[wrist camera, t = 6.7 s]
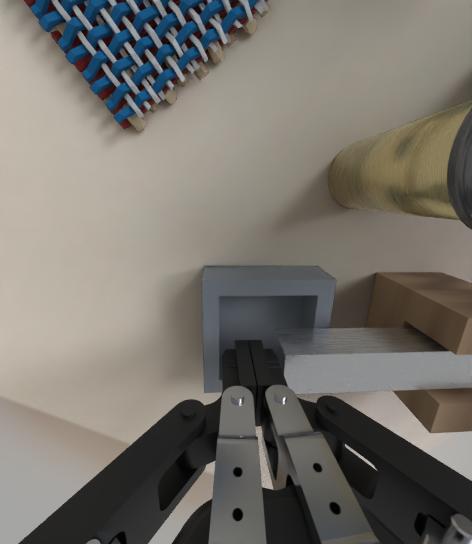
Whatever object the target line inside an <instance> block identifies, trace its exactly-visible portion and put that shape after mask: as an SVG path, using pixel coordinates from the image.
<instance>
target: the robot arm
mask: <svg viewBox="0 0 472 544" xmlns="http://www.w3.org/2000/svg"><path fill="white" fill-rule="evenodd" d="M255 426H261V427H262V432H263V433H262V445H263V449H264V453H265V457H266V461H267V465H268V469H269V472H270V476H271V480H272V484H273V489H274V490H271V489H267V488H263V487H262V482H261V469H260V457H259V444H258V437H256V428H255ZM345 444H347V445H348V446H349V447H351V448H352V449H353V450H355V451H356V452H357V453H359V454H360V455H361V456H363V457H364V458H365V459H367V460H368V461H369V462H371V463H372V464H373V465H374V466H375V468H376V469H377V470H375V469H374V468H373V467H371V466H370V465H369V464H367V463H366V462H365V461H363V460H362V459H361V458H359V457H358V456H357V455H355V454H354V453H353V452H351V451H350V450H349V449H347V448H346V447H345ZM213 461H216V462H215V473H214V485H213V498H212V499H211V500H209V501H207V502H206V503H204V504H203V505H202V506H200V507H199V508H198V509H197V510H196V511H195V512H194V513H193V514H192V515H191V516H190V518H189V519H188V520H187V522H186V523H185V524H184V526H183V527H182V529H181V531H180V532H179V534H178V535H177V537H176V538H175V540H174V541H173V543H172V544H472V481H471V480H469V479H467V478H466V477H464V476H462V475H461V474H459V473H458V472H456V471H455V470H453V469H451V468H450V467H448V466H446V465H445V464H443V463H442V462H440V461H438V460H437V459H435V458H434V457H432V456H430V455H429V454H427V453H426V452H424V451H422V450H421V449H419V448H418V447H416V446H414V445H413V444H411V443H410V442H408V441H406V440H405V439H403V438H402V437H400V436H398V435H397V434H395V433H393V432H392V431H390V430H389V429H387V428H385V427H384V426H382V425H381V424H379V423H377V422H376V421H374V420H373V419H371V418H369V417H368V416H366V415H365V414H363V413H361V412H360V411H358V410H357V409H355V408H353V407H352V406H350V405H349V404H347V403H345V402H344V401H342V400H340V399H339V398H336V397H333V396H322V397H320V398H318V400H317V402H316V403H314V402H309V401H305V400H302V399H300V398H298V397H297V396H296V394H295V393H294V391H293V390H292V389H290V388H289V387H288V385H287V382H286V379H285V377H284V374H283V371H282V368H281V366H280V363H279V360H278V357H277V354H276V353H275V352H274V351H273V350H272V349H264V348H263V344H262V341H261V340H235V344H234V349H229V350H225V352H224V353H223V355H222V395H221V397H220V398H219V399H218V400H217V401H215V402H213V403H211V404H208V405H205V406H204V405H203V404H202V403H201V402H200V401H197V400H191V399H190V400H185V401H182V402H180V403H179V404H177V405H176V406H175V407H174V408H173V409H172V410H170V411H169V412H168V413H167V414H166V415H165V416H164V417H162V418H161V419H160V420H159V421H158V422H157V423H156V424H155V425H153V426H152V427H151V428H150V429H149V430H148V431H147V432H145V433H144V434H143V435H142V436H141V437H140V438H139V439H137V440H136V441H135V442H134V443H133V444H132V445H131V446H129V447H128V448H127V449H126V450H125V451H124V452H123V453H121V454H120V455H119V456H118V457H117V458H116V459H115V460H113V461H112V462H111V463H110V464H109V465H108V466H107V467H105V468H104V469H103V470H102V471H101V472H100V473H99V474H97V475H96V476H95V477H94V478H93V479H92V480H91V481H89V482H88V483H87V484H86V485H85V486H84V487H83V488H81V489H80V490H79V491H78V492H77V493H76V494H75V495H73V496H72V497H71V498H70V499H69V500H68V501H67V502H65V503H64V504H63V505H62V506H61V507H60V508H59V509H58V510H56V511H55V512H54V513H53V514H52V515H51V516H49V517H48V518H47V519H46V520H45V521H44V522H43V523H42V524H40V525H39V526H38V527H37V528H36V529H35V530H34V531H32V532H31V533H30V534H29V535H28V536H27V537H25V538H24V539H23V540H22V541H21V542H20V543H19V544H148V543H149V541H150V540H151V539H152V537H153V536H154V535H155V533H156V532H157V531H158V529H159V528H160V527H161V526H162V524H163V523H164V521H165V520H166V519H167V518H168V517H169V515H170V514H171V513H172V511H173V510H174V509H175V507H176V506H177V505H178V504H179V502H180V501H181V500H182V498H183V497H184V496H185V494H186V493H187V492H188V491H189V489H190V488H191V487H192V485H193V484H194V483H195V481H196V480H197V479H198V477H199V476H200V475H201V474H202V472H203V471H204V469H205V467H206V464H209V463H211V462H213Z"/></svg>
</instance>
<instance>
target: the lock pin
mask: <svg viewBox="0 0 472 544" xmlns="http://www.w3.org/2000/svg"><path fill="white" fill-rule="evenodd" d="M273 351H274V352H275V353H276V354H277V357H278V360H279V363H280V366H281V368H282V371H283V374H284V377H285V379H286V382H287V385H288V387H289V388H290V389H292V390H293V391H294V393H295V394H315V393H343V392H371V391H398V390H426V389H454V388H472V355H455V354H454V353H453V352H451V351H450V350H448V349H447V348H445V347H444V346H442V345H441V344H439V343H438V342H436V341H435V340H433V339H432V338H430V337H429V336H427V335H426V334H424V333H423V332H421V331H420V330H418V329H417V328H416V327H376V328H318V329H275V332H274V345H273Z"/></svg>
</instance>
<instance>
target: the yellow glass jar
mask: <svg viewBox="0 0 472 544" xmlns="http://www.w3.org/2000/svg"><path fill="white" fill-rule="evenodd" d="M328 185H329V190H330V193H331V195H332V196H333V198H334V199H335V200H336V202H338V203H339V204H340V205H342V206H344V207H347V208H352V209H362V210H371V211H380V212H390V213H399V214H408V215H418V216H427V217H436V218H446V219H455V220H461V221H462V222H463V223H464V224H465V225H466V226H467V227H469V228H470V229H472V100H470V101H468V102H465V103H462V104H460V105H457V106H454V107H451V108H449V109H446V110H443V111H441V112H438V113H435V114H433V115H430V116H427V117H425V118H422V119H419V120H417V121H414V122H411V123H408V124H406V125H403V126H400V127H398V128H395V129H392V130H390V131H387V132H384V133H382V134H379V135H376V136H373V137H371V138H368V139H365V140H363V141H360V142H357V143H355V144H352V145H350V146H348V147H346V148H345V149H343V150H342V151H341V152H340V153H339V154H338V155H337V156H336V158H335V159H334V161H333V163H332V165H331V167H330V171H329V175H328Z"/></svg>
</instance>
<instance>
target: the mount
mask: <svg viewBox="0 0 472 544" xmlns="http://www.w3.org/2000/svg"><path fill="white" fill-rule="evenodd" d="M376 327H416V328H417V329H418V330H420V331H421V332H423V333H424V334H426V335H427V336H429V337H430V338H432V339H433V340H435V341H436V342H438V343H439V344H441V345H442V346H444V347H445V348H447V349H448V350H450V351H451V352H453V353H454V354H455V355H472V283H469V282H466V281H464V280H461V279H458V278H455V277H452V276H449V275H446V274H444V273H376V278H375V283H374V288H373V293H372V298H371V303H370V308H369V314H368V319H367V324H366V328H376ZM393 392H394V393H395V394H396V395H397V396H398V397H399V399H400V400H401V401H402V402H403V403H404V404H405V405H406V406H407V408H408V409H409V410H410V411H411V412H412V413H413V414H414V416H415V417H416V418H417V419H418V420H419V421H420V422H421V423H422V425H423V426H424V427H425V428H426V429H427V430H428V431H429V432H430V433H443V432H464V431H472V388H454V389H426V390H398V391H393Z"/></svg>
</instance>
